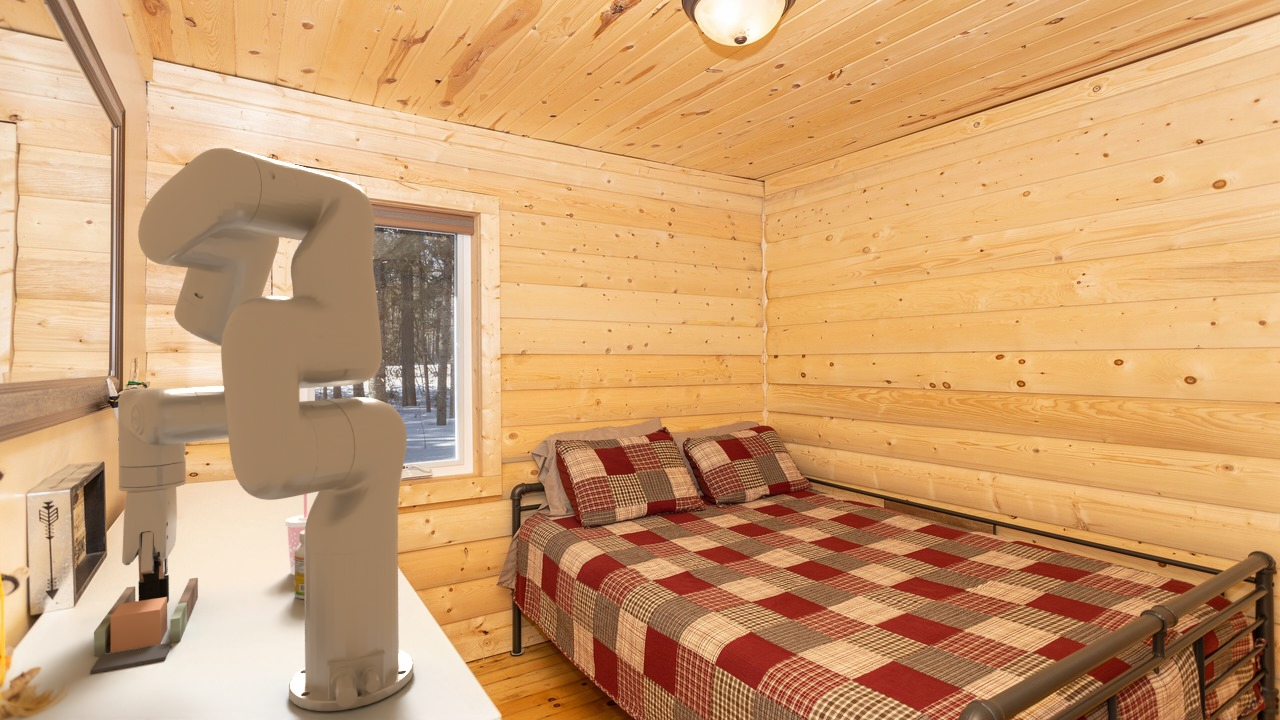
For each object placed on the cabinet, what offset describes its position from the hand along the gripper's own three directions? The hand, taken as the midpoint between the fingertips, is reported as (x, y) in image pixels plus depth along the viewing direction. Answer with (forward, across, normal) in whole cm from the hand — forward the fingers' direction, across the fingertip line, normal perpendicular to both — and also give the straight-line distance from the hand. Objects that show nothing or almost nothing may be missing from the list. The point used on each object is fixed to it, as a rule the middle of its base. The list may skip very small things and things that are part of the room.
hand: (154, 606), depth 91 cm
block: (+2, +8, 0) cm, 8 cm away
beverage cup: (+2, -12, +19) cm, 23 cm away
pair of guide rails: (+2, +2, 0) cm, 3 cm away
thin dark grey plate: (+2, +14, 0) cm, 15 cm away
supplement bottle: (+2, +1, +20) cm, 20 cm away
